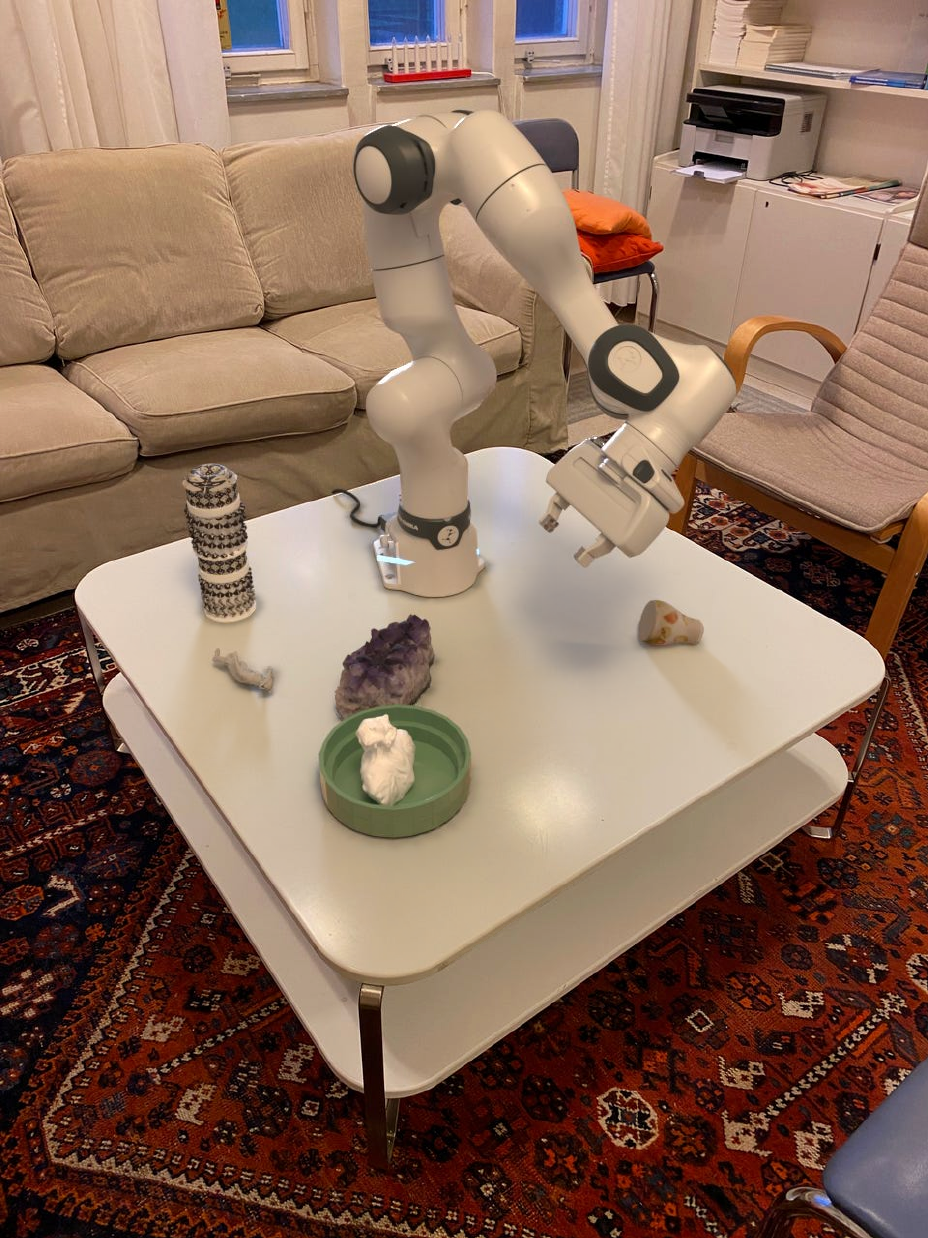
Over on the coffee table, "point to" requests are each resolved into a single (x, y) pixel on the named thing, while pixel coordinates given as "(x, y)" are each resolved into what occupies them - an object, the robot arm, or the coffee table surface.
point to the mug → (667, 625)
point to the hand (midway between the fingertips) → (560, 545)
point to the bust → (385, 760)
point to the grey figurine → (245, 671)
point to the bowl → (435, 770)
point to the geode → (387, 668)
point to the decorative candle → (219, 542)
